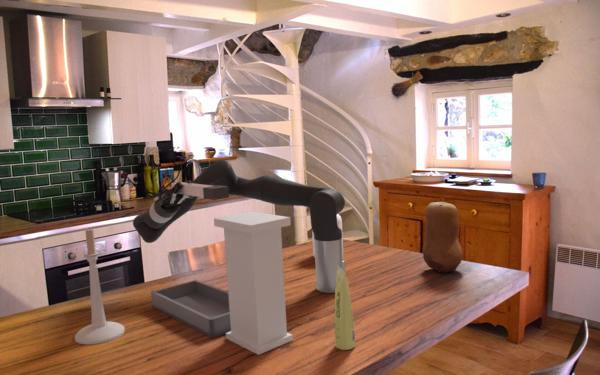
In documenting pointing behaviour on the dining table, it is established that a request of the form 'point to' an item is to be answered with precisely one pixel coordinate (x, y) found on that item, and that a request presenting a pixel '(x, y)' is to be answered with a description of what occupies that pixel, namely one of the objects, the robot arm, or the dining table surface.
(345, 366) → the dining table surface
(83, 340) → the candlestick
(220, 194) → the plug rod
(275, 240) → the stand
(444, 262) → the butternut squash
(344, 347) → the tube
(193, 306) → the bin
